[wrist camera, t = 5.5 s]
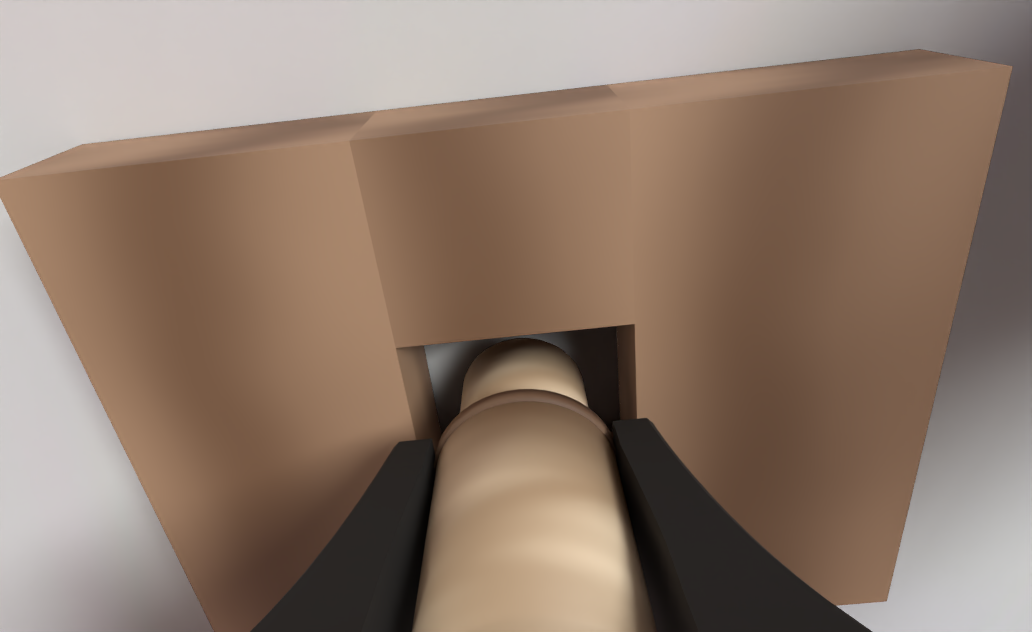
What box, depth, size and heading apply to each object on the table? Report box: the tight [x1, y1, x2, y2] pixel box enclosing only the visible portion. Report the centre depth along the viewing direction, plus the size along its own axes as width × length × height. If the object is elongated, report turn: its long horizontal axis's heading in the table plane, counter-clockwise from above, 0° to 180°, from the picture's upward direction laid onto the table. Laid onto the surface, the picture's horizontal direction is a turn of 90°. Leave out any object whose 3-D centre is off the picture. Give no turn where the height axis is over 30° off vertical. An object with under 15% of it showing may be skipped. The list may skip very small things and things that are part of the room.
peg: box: [412, 338, 657, 632], centre depth 11 cm, size 3×3×7 cm
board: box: [0, 49, 1013, 632], centre depth 14 cm, size 16×12×2 cm
